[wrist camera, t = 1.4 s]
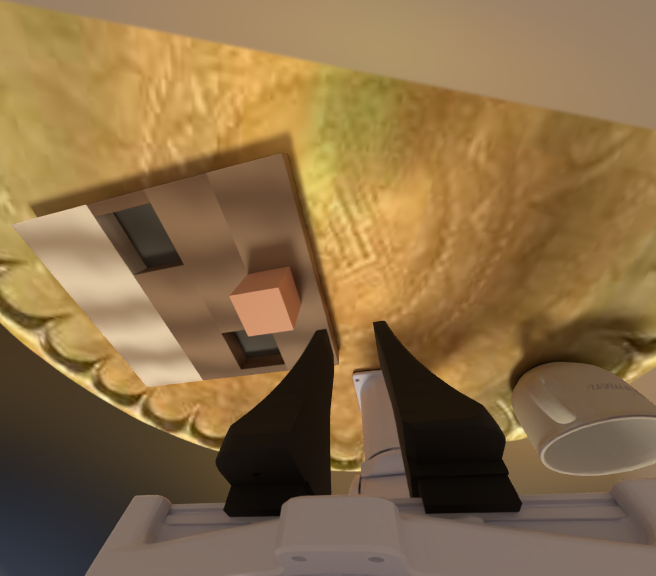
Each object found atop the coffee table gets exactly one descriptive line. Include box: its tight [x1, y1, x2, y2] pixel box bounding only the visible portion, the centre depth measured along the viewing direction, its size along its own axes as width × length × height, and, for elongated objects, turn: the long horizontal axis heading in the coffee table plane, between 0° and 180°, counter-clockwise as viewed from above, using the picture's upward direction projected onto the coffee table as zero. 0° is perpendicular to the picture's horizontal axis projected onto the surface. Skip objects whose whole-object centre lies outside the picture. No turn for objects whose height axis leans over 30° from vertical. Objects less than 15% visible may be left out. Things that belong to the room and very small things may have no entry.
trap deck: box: [11, 153, 339, 387], centre depth 24 cm, size 21×25×2 cm
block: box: [229, 267, 301, 336], centre depth 20 cm, size 4×4×4 cm
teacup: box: [511, 362, 656, 476], centre depth 24 cm, size 14×11×8 cm
